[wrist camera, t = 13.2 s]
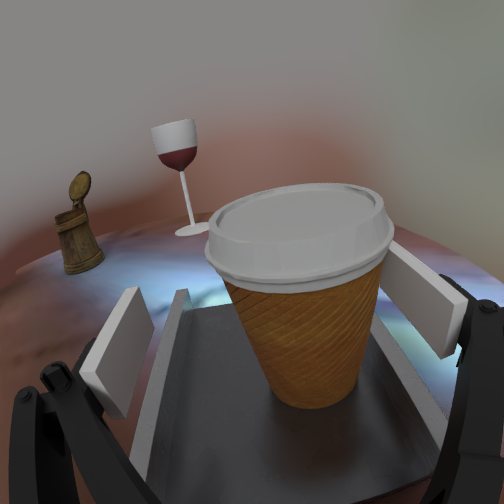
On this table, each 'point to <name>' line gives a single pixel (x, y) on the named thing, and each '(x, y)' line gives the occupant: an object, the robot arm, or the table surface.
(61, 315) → the table surface
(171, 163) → the wineglass
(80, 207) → the wooden mug
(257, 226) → the disposable coffee cup
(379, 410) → the tray
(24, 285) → the table surface
